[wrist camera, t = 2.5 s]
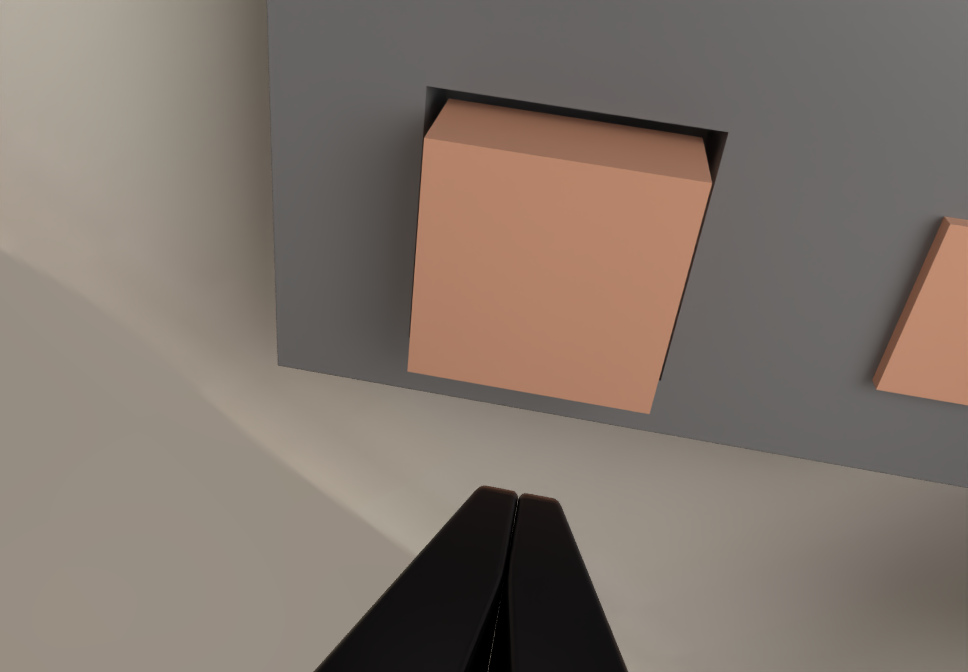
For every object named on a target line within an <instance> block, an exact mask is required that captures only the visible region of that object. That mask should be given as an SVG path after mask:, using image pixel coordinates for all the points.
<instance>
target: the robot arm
mask: <svg viewBox="0 0 968 672" xmlns="http://www.w3.org/2000/svg"><path fill="white" fill-rule="evenodd" d="M517 502H518V504H517ZM516 508H517V510H516ZM515 514H516V515H515ZM514 519H515V521H514ZM513 525H514V527H513ZM512 531H513V532H512ZM511 537H512V538H511ZM508 554H509V555H508ZM501 594H502V595H501ZM499 605H500V606H499ZM498 611H499V612H498ZM497 616H498V618H497ZM496 622H497V623H496ZM495 628H496V629H495ZM494 633H495V635H494ZM493 639H494V640H493ZM492 644H493V646H492ZM491 650H492V652H491ZM490 655H491V658H490ZM489 661H490V663H489ZM488 667H489V669H488ZM314 672H628V670H627V668H626V665H625V663H624V660H623V658H622V655H621V653H620V650H619V648H618V645H617V643H616V641H615V638H614V636H613V633H612V631H611V628H610V626H609V623H608V621H607V618H606V616H605V613H604V611H603V608H602V606H601V603H600V601H599V598H598V596H597V593H596V591H595V589H594V586H593V584H592V581H591V579H590V576H589V574H588V571H587V569H586V566H585V564H584V561H583V559H582V556H581V554H580V551H579V549H578V546H577V544H576V541H575V539H574V537H573V534H572V532H571V529H570V527H569V524H568V522H567V519H566V517H565V514H564V512H563V509H562V507H561V505H560V503H559V502H558V501H557V500H556V499H553V498H548V497H543V496H538V495H533V494H527V493H524V494H522V495H521V496H520V497H519V499H518V496H517V494H516V493H515V492H514V491H511V490H506V489H501V488H495V487H490V486H481V487H479V488H478V489H477V490H476V491H475V492H474V493H473V494H472V495H471V496H470V497H469V498H468V499H467V501H466V502H465V503H464V504H463V505H462V506H461V507H460V508H459V510H458V511H457V512H456V513H455V514H454V515H453V516H452V517H451V518H450V520H449V521H448V522H447V523H446V524H445V525H444V526H443V527H442V529H441V530H440V531H439V532H438V533H437V534H436V535H435V536H434V538H433V539H432V540H431V541H430V542H429V543H428V544H427V545H426V546H425V548H424V549H423V550H422V551H421V552H420V553H419V554H418V555H417V557H416V558H415V559H414V560H413V561H412V562H411V563H410V564H409V566H408V567H407V568H406V569H405V570H404V571H403V572H402V574H400V576H399V577H398V578H397V579H396V580H395V581H394V582H393V584H392V585H391V586H390V587H389V588H388V589H387V590H386V591H385V593H384V594H383V595H382V596H381V597H380V598H379V599H378V600H377V602H376V603H375V604H374V605H373V606H372V607H371V608H370V609H369V610H368V612H367V613H366V614H365V615H364V616H363V617H362V618H361V619H360V621H359V622H358V623H357V624H356V625H355V626H354V627H353V628H352V629H351V631H350V632H349V633H348V634H347V635H346V636H345V637H344V639H343V640H342V641H341V642H340V643H339V644H338V645H337V646H336V647H335V649H334V650H333V651H332V652H331V653H330V654H329V655H328V656H327V657H326V659H325V660H324V661H323V662H322V663H321V664H320V665H319V666H318V667H317V669H316V670H315V671H314Z"/></svg>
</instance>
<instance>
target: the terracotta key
mask: <svg viewBox="0 0 968 672" xmlns="http://www.w3.org/2000/svg"><path fill="white" fill-rule="evenodd" d="M711 185H712V180H711V176H710V171H709V166H708V161H707V157H706V152H705V147H704V142H703V138H702V137H697V136H690V135H684V134H677V133H671V132H664V131H658V130H651V129H645V128H638V127H632V126H625V125H619V124H612V123H606V122H599V121H593V120H586V119H580V118H573V117H567V116H560V115H554V114H547V113H541V112H534V111H528V110H521V109H515V108H508V107H502V106H495V105H489V104H482V103H476V102H469V101H463V100H456V99H450V98H449V99H448V101H447V102H446V104H445V106H444V107H443V109H442V110H441V112H440V114H439V115H438V117H437V118H436V120H435V121H434V123H433V125H432V126H431V128H430V129H429V131H428V133H427V134H426V136H425V137H424V146H423V160H422V174H421V188H420V202H419V216H418V230H417V244H416V258H415V272H414V286H413V300H412V314H411V328H410V342H409V356H408V370H407V371H408V372H413V373H419V374H425V375H430V376H436V377H442V378H447V379H453V380H459V381H464V382H470V383H476V384H481V385H487V386H493V387H498V388H504V389H510V390H515V391H521V392H527V393H532V394H538V395H544V396H549V397H555V398H561V399H566V400H572V401H578V402H583V403H589V404H595V405H600V406H606V407H612V408H617V409H623V410H629V411H634V412H640V413H646V414H650V410H651V407H652V403H653V399H654V396H655V392H656V388H657V385H658V381H659V377H660V374H661V370H662V366H663V362H664V359H665V355H666V351H667V348H668V344H669V340H670V337H671V333H672V329H673V326H674V322H675V318H676V315H677V311H678V307H679V303H680V300H681V296H682V292H683V289H684V285H685V281H686V278H687V274H688V270H689V267H690V263H691V259H692V256H693V252H694V248H695V244H696V241H697V237H698V233H699V230H700V226H701V222H702V219H703V215H704V211H705V208H706V204H707V200H708V197H709V193H710V189H711Z"/></svg>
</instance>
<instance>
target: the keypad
mask: <svg viewBox="0 0 968 672" xmlns="http://www.w3.org/2000/svg"><path fill="white" fill-rule="evenodd" d="M267 22H268V55H269V88H270V121H271V154H272V187H273V220H274V253H275V286H276V319H277V352H278V365H279V366H284V367H290V368H295V369H301V370H307V371H312V372H318V373H324V374H329V375H335V376H340V377H346V378H352V379H357V380H363V381H369V382H374V383H380V384H385V385H391V386H397V387H402V388H408V389H413V390H419V391H425V392H430V393H436V394H442V395H447V396H453V397H458V398H464V399H470V400H475V401H481V402H487V403H492V404H498V405H503V406H509V407H515V408H520V409H526V410H532V411H537V412H543V413H548V414H554V415H560V416H565V417H571V418H577V419H582V420H588V421H593V422H599V423H605V424H610V425H616V426H622V427H627V428H633V429H638V430H644V431H650V432H655V433H661V434H667V435H672V436H678V437H683V438H689V439H695V440H700V441H706V442H712V443H717V444H723V445H728V446H734V447H740V448H745V449H751V450H757V451H762V452H768V453H773V454H779V455H785V456H790V457H796V458H802V459H807V460H813V461H818V462H824V463H830V464H835V465H841V466H847V467H852V468H858V469H863V470H869V471H875V472H880V473H886V474H891V475H897V476H903V477H908V478H914V479H920V480H925V481H931V482H936V483H942V484H948V485H953V486H959V487H965V488H968V0H267ZM449 98H450V99H456V100H463V101H469V102H476V103H482V104H489V105H495V106H502V107H508V108H515V109H521V110H528V111H534V112H541V113H547V114H554V115H560V116H567V117H573V118H580V119H586V120H593V121H599V122H606V123H612V124H619V125H625V126H632V127H638V128H645V129H651V130H658V131H664V132H671V133H677V134H684V135H690V136H697V137H702V138H703V142H704V147H705V152H706V157H707V161H708V166H709V171H710V176H711V180H712V185H711V189H710V193H709V197H708V200H707V204H706V208H705V211H704V215H703V219H702V222H701V226H700V230H699V233H698V237H697V241H696V244H695V248H694V252H693V256H692V259H691V263H690V267H689V270H688V274H687V278H686V281H685V285H684V289H683V292H682V296H681V300H680V303H679V307H678V311H677V315H676V318H675V322H674V326H673V329H672V333H671V337H670V340H669V344H668V348H667V351H666V355H665V359H664V362H663V366H662V370H661V374H660V377H659V381H658V385H657V388H656V392H655V396H654V399H653V403H652V407H651V410H650V414H646V413H640V412H634V411H629V410H623V409H617V408H612V407H606V406H600V405H595V404H589V403H583V402H578V401H572V400H566V399H561V398H555V397H549V396H544V395H538V394H532V393H527V392H521V391H515V390H510V389H504V388H498V387H493V386H487V385H481V384H476V383H470V382H464V381H459V380H453V379H447V378H442V377H436V376H430V375H425V374H419V373H413V372H408V371H407V370H408V356H409V342H410V328H411V314H412V300H413V286H414V272H415V258H416V244H417V230H418V216H419V202H420V188H421V174H422V160H423V146H424V137H425V136H426V134H427V133H428V131H429V129H430V128H431V126H432V125H433V123H434V121H435V120H436V118H437V117H438V115H439V114H440V112H441V110H442V109H443V107H444V106H445V104H446V102H447V101H448V99H449Z"/></svg>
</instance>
